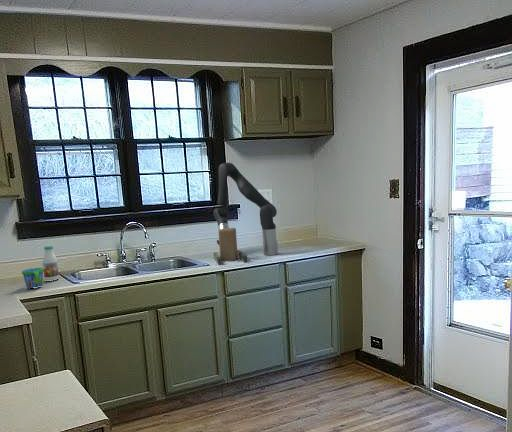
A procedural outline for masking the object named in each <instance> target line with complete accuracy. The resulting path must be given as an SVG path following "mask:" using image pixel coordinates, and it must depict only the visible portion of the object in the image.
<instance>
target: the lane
mask: <svg viewBox="0 0 512 432" xmlns="http://www.w3.org/2000/svg"><path fill="white" fill-rule="evenodd" d="M237 254H238V257H237V258H239V259H240V260H241V261H242V262H243V263H244V264H246V263H248V256H247V255H246V254H245V252H243V251H242V250H241V249H237ZM213 259H214V261H215V262H216V263H217V265H218V266H223V263H222V262H223V261H222V259H221V257H220V254H218V252H215V251H214V252H213Z"/></svg>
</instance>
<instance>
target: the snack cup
mask: <svg viewBox="0 0 512 432" xmlns="http://www.w3.org/2000/svg"><path fill="white" fill-rule="evenodd" d="M21 274H22V276H23V278H24V279H23V280H24V282H25V287H26V289H27V288H33V287H38V286H41V285H42V286H43V282H44V281H43V279H44V269H43V267H35V268H34V267H33V268H28V269H24V270H21Z"/></svg>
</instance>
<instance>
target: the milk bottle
mask: <svg viewBox="0 0 512 432" xmlns="http://www.w3.org/2000/svg"><path fill="white" fill-rule="evenodd" d="M43 249H44V255H43V259H42V268H43V269H44V271H43V279H44V281H45V280H54V279H58V278H59V279H60V275H59V274H60V273H59V264H58V259H57V256H56V255H55V252H54V246H53V245H46V246H44V247H43Z"/></svg>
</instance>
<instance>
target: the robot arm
mask: <svg viewBox="0 0 512 432" xmlns="http://www.w3.org/2000/svg"><path fill="white" fill-rule="evenodd" d="M228 177H230V178H231V179H232V180H233V181H234V182H235V184H236V187H237V189H238V191H239V192H240V194H241V195H242V196H243V197H245V198H246V200H248V201H250V203H251V202H252V203H253V204H255V205H256V206H258V207H259V221H260V226H261V231H262V232H261V233H262V247H263V248H262V250H263V251H262V253H263V256H275V255H278V254H279V247H278V239H277V226H276V224H275V222H274V218H275V217H276V216H277V213H278V211H277V208H276V206H275V205H274V204H273V203H271V202H270V201H269V200H268V199H266V198H265V197H264V196H263V195H262V194H261V192H259V191H258V189H257V188H256V187H254V185H253V184H252V183H251V182H250V181H249V180H248V179H247V178H246V177H245V176H244V175H243V174H242V173H241V172H240V171H239V169H238V168H237V167H236V165H234V164H233V163H232V162H223V163H221V164H219V166H218V196H217V205H218V206H222V207H223V208H222V207H221V208H220V207H216V208H214V209H213V217H214V219H215V220H216V223H217V226H218V231H219V230H220V229H223V228H230V226H229V221H228V219H227V218H228V217H229V207H228V202H229V189H228V185H227V181H228ZM216 244H217V245H218V246H219V239H217V240H216Z"/></svg>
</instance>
